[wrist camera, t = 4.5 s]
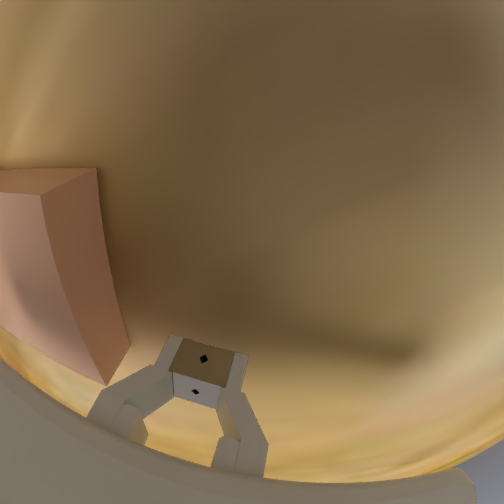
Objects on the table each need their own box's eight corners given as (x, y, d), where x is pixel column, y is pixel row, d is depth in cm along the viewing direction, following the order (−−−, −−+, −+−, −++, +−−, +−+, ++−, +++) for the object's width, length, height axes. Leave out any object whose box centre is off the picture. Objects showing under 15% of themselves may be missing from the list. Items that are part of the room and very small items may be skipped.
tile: (-26, 170, 11) (-61, 189, 8) (103, 165, 9) (40, 195, 6) (5, 285, 16) (-20, 310, 13) (133, 341, 14) (106, 386, 11)
